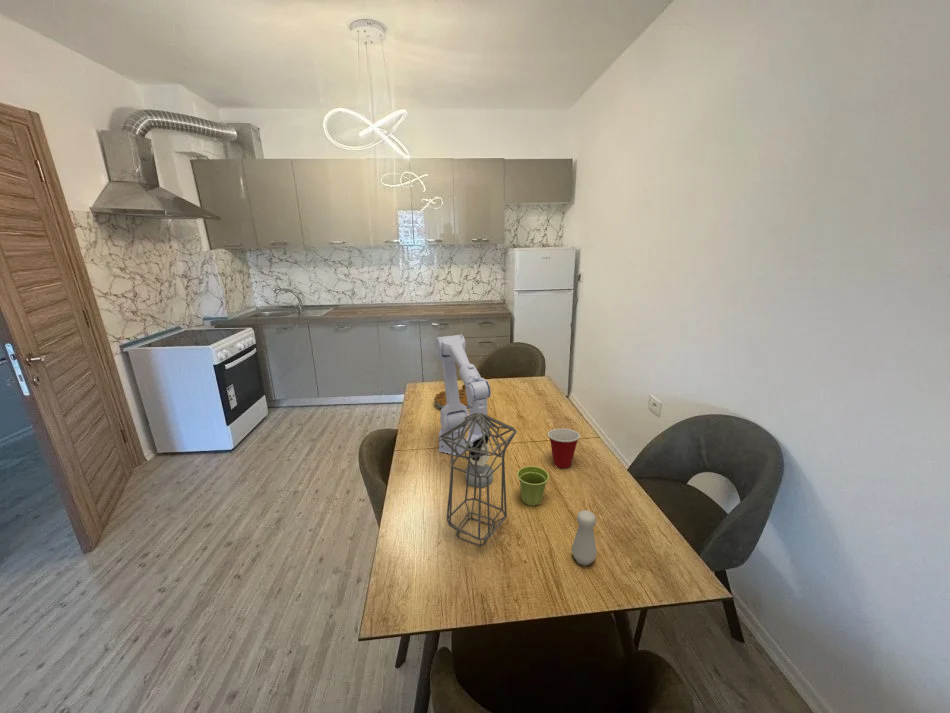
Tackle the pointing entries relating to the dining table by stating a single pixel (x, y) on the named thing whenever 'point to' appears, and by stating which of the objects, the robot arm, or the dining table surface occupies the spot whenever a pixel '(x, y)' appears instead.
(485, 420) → the geometric lantern
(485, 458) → the cream block
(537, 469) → the plant pot
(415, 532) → the dining table surface
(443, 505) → the dining table surface
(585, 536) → the salt shaker
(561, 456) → the plastic cup
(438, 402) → the pie
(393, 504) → the dining table surface
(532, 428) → the dining table surface
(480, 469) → the grey disc
